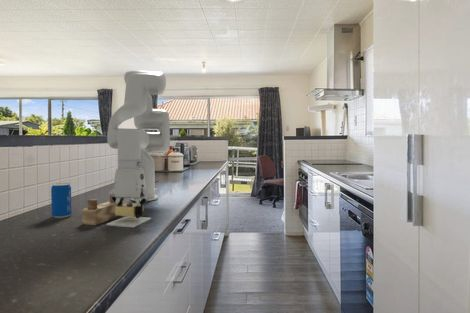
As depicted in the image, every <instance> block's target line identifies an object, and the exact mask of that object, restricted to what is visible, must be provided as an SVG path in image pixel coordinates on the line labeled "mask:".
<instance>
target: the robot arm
mask: <svg viewBox="0 0 470 313" xmlns="http://www.w3.org/2000/svg"><path fill="white" fill-rule="evenodd" d="M123 78H124V83H125V89H124V91H125V92H124V102H123V104H122V105H121V106H120V107H119V108H117V110H116V111H115V112H114V113H113V114H112V116H111V117H110V119H109V121H108V126H107V127H108V129H107V136H106V137H107V140H106V141H107V144H108V146H109V147H110V148H111V149H113V150H117V168H116V169H115V174H114V182H113V188H112V189H111V190H110V191H109V192H108V196H109V198H110V197H111V198H112V200H113V201H114V202H115V205H117V206H118V205H121V204H122V202H124V199H130V200H131V201H135V203H137V206H136V215H135V217H136V218H139V217H143V215H144V205H145V204H146V203H147V202H150V201H155V200H158V199H159V195H157V194H156V193H157V192H158V190H159V189H158V188H155V187H156V186H155V185H156V178H155V176H156V175H155V172H156V170H155V168H156V167H155V164H156V163H155V159H154V158H153V157H152V156H151V155H150V153H168V152H169V150H170V147H171V130H170V129H171V128H170V127H171V125H170V124H171V123H170V122H171V121H170V115H169V112H168V111H167V110H166V109H161V108H160V109H159V108H158V109H157V108H154V106H153V97H152V96H160V95H161V96H162V95H163V93H164V91H165V89H166V85H167V78H166V75H165V73H164V72H162V71H154V70H150V71H149V70H129V71H126V72H125V73H124V76H123ZM130 119H133V123H134V124H133V125H134V126H135V128H122V127H121V128H119V127H120V126H121V124H122V123H124V122H126V121H128V120H130ZM148 130H151V131H153V130H154V131H155V130H156V131H159V132H154V131H153V132H151V131H148ZM117 216H118V215H117ZM118 217H120V216H118ZM118 217H117V218H118Z"/></svg>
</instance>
